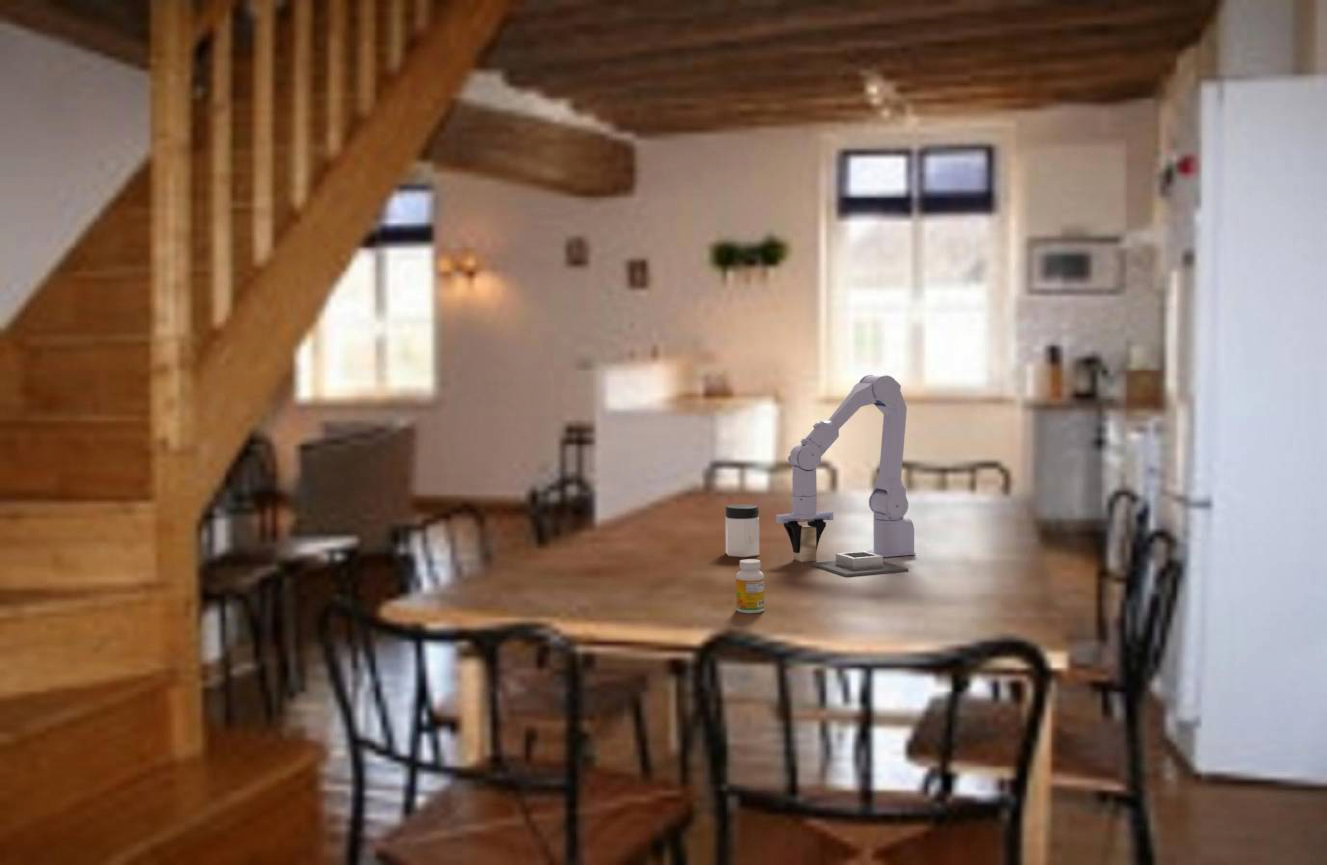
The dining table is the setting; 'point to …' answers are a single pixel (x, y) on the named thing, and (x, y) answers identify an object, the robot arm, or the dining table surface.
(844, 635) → the dining table surface
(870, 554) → the socket
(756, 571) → the supplement bottle
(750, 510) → the jar
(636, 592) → the dining table surface
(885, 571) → the mat
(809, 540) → the beige block
